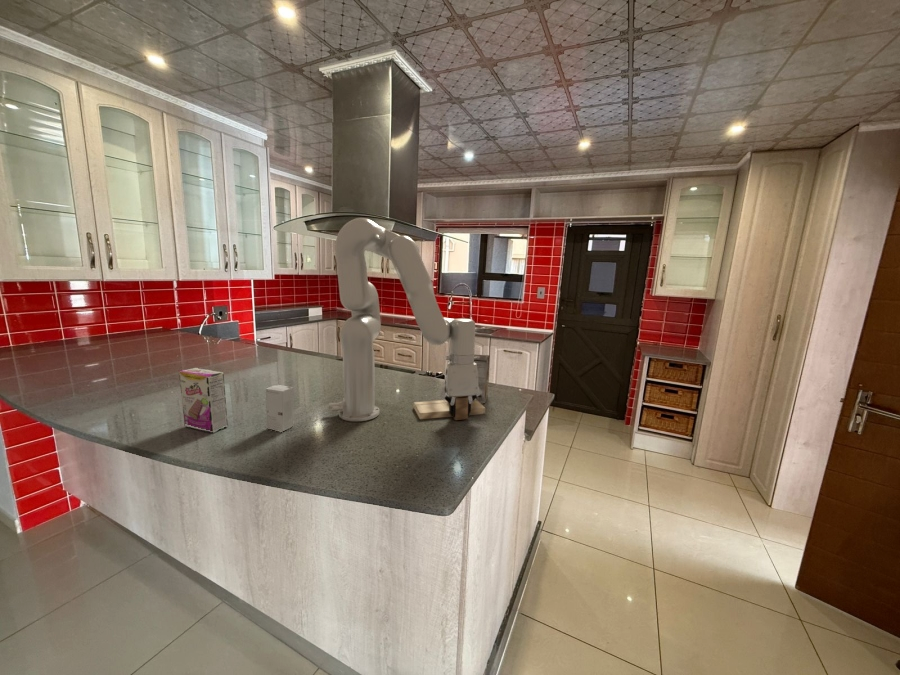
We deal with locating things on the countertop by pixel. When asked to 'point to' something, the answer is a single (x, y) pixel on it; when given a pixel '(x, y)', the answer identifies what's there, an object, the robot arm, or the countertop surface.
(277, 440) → the countertop surface
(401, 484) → the countertop surface
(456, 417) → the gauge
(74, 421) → the countertop surface
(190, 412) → the candy bar box
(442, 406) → the board
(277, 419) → the skincare box
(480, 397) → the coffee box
